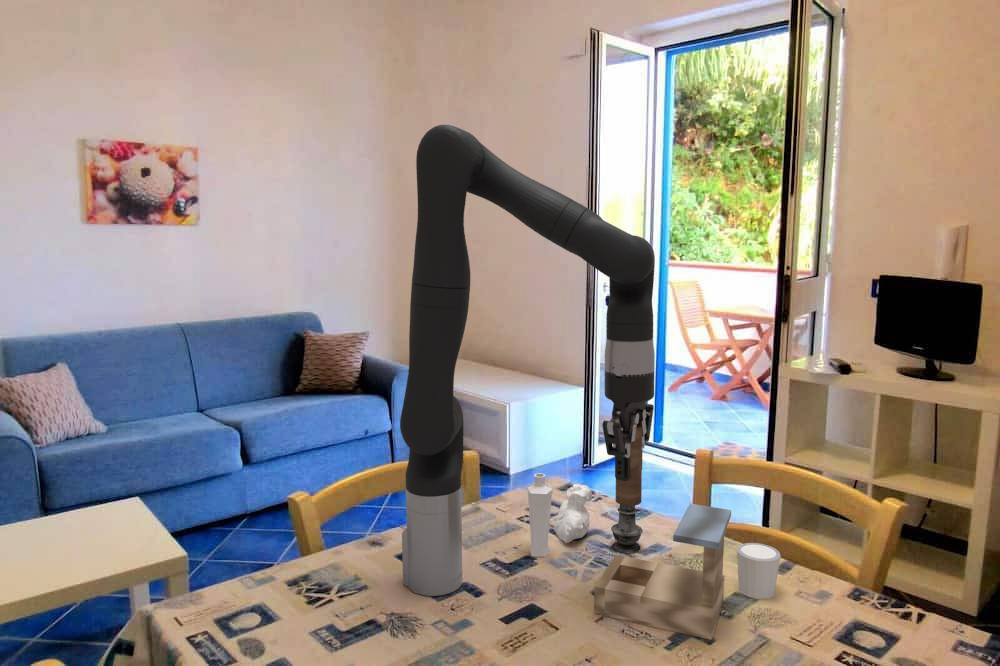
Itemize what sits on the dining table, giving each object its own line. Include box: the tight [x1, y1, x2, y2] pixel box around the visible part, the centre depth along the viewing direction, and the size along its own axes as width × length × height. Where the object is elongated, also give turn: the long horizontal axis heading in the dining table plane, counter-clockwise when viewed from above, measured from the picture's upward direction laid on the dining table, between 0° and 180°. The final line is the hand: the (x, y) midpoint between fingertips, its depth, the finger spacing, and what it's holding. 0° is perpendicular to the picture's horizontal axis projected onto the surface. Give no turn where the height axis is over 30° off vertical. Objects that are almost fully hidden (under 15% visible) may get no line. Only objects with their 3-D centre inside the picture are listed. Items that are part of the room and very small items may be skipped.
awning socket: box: [593, 503, 732, 641], centre depth 116 cm, size 18×13×16 cm
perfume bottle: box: [527, 472, 553, 558], centre depth 135 cm, size 5×4×15 cm
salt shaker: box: [610, 504, 644, 555], centre depth 138 cm, size 6×6×12 cm
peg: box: [615, 426, 643, 507], centre depth 114 cm, size 4×4×12 cm
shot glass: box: [736, 542, 781, 600], centre depth 122 cm, size 7×7×7 cm
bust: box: [553, 483, 593, 544], centre depth 143 cm, size 12×8×11 cm
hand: (628, 474), depth 115 cm, fingers closed on peg, 4 cm apart
